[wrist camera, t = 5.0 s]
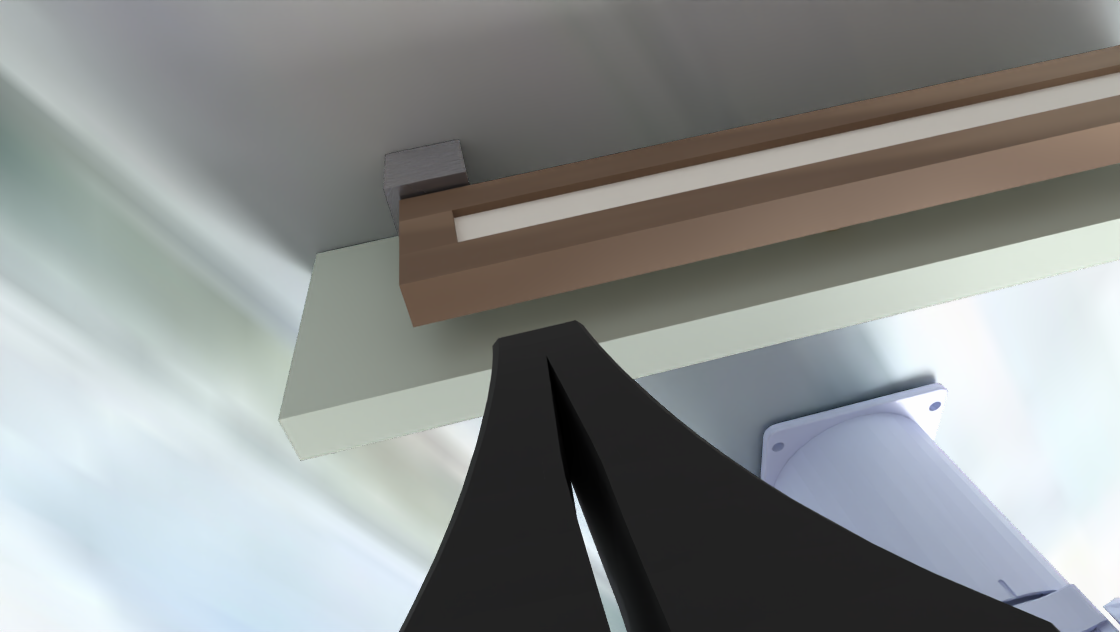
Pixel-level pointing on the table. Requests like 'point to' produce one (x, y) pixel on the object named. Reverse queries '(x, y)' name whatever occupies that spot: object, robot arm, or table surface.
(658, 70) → the table surface
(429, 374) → the wall panel
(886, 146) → the grooved wooden rail
